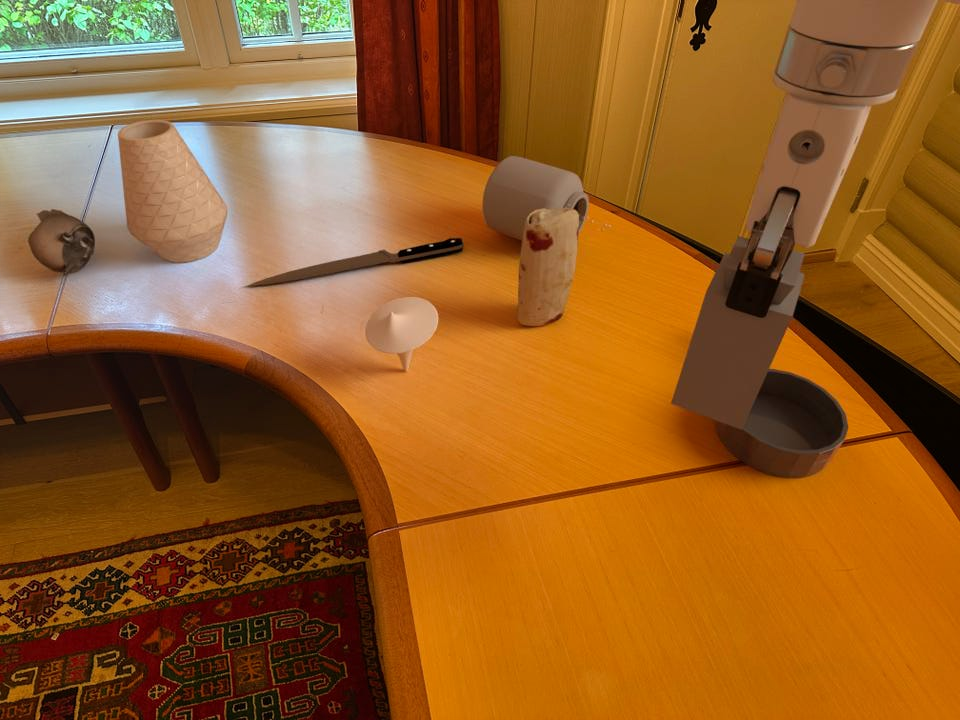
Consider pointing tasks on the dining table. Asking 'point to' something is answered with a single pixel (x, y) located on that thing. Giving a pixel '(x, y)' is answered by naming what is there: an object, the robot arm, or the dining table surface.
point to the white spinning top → (401, 327)
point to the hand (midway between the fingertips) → (755, 285)
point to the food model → (547, 265)
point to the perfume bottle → (735, 342)
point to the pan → (788, 428)
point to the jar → (529, 194)
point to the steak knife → (370, 261)
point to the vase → (168, 193)
